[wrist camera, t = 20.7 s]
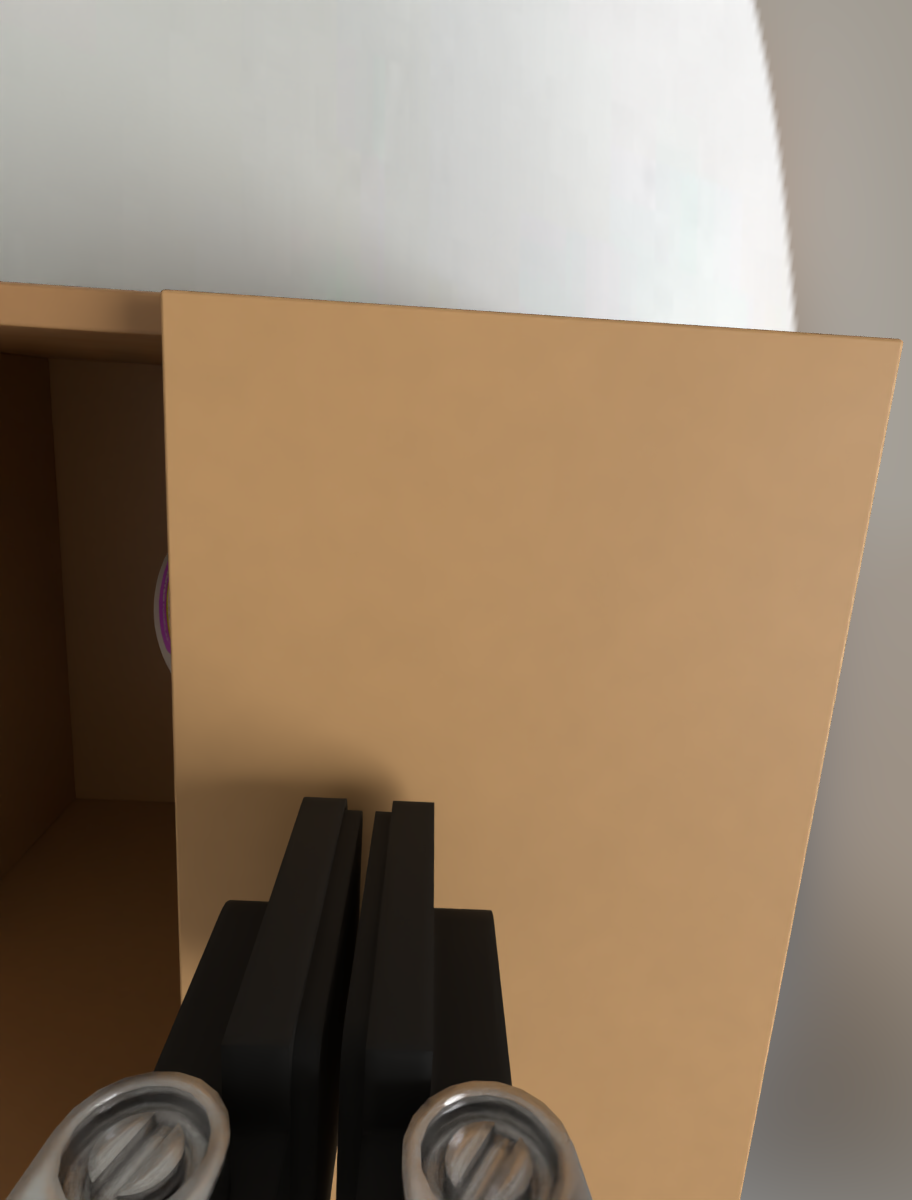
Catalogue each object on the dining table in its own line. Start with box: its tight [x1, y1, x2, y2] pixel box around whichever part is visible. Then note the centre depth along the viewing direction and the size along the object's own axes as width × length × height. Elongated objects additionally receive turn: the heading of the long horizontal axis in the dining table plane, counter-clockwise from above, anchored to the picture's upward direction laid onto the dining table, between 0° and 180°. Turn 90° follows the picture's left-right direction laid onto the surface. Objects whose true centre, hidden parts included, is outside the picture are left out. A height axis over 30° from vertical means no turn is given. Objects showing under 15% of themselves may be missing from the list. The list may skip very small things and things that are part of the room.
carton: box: [0, 281, 181, 1200], centre depth 18 cm, size 17×15×14 cm
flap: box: [160, 290, 903, 1200], centre depth 11 cm, size 8×15×1 cm, turn 176°
